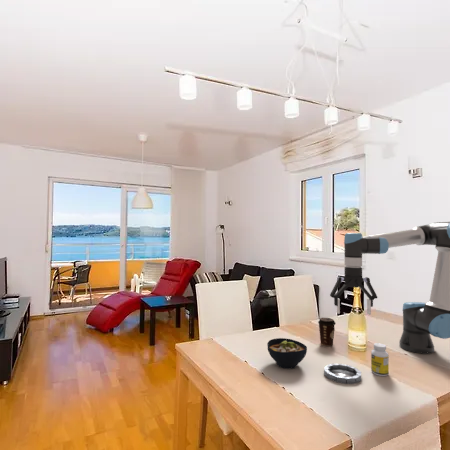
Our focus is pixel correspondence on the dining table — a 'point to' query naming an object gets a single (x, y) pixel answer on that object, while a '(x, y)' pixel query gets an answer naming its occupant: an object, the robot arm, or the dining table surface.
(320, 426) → the dining table surface
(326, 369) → the ring seat
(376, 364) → the pill bottle
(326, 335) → the coffee cup
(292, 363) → the bowl
